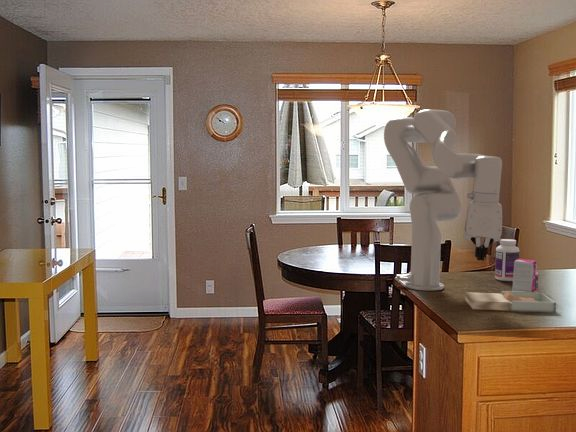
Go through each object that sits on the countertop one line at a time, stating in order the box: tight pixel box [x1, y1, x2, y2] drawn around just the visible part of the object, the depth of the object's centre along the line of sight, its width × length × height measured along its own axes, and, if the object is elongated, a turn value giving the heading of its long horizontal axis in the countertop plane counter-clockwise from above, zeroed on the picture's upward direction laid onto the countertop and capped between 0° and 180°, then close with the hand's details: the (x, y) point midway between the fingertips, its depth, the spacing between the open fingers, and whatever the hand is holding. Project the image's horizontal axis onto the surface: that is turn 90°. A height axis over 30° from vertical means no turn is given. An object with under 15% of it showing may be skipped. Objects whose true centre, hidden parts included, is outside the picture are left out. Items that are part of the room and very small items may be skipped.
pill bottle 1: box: [494, 238, 520, 282], centre depth 236 cm, size 8×8×14 cm
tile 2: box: [519, 297, 536, 302], centre depth 195 cm, size 4×4×2 cm
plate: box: [465, 291, 511, 312], centre depth 196 cm, size 10×12×2 cm
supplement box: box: [511, 258, 537, 292], centre depth 209 cm, size 6×6×12 cm
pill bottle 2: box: [534, 264, 540, 292], centre depth 217 cm, size 5×5×9 cm
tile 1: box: [503, 290, 521, 302], centre depth 195 cm, size 4×4×2 cm
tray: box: [500, 290, 557, 314], centre depth 195 cm, size 12×14×3 cm
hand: (480, 259), depth 196 cm, fingers closed
